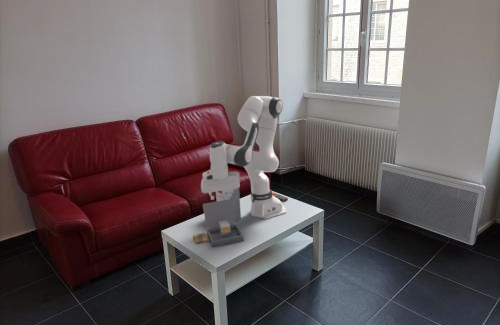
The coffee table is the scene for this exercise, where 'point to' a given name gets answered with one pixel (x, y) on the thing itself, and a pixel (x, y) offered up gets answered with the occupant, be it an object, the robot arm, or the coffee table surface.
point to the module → (224, 229)
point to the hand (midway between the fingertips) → (221, 198)
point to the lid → (219, 213)
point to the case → (235, 237)
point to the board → (201, 238)
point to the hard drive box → (235, 197)
